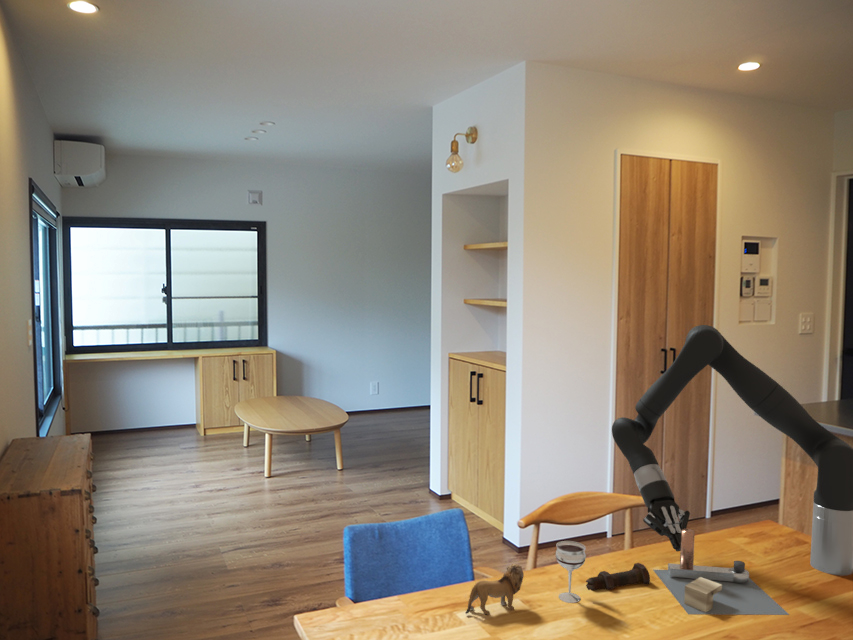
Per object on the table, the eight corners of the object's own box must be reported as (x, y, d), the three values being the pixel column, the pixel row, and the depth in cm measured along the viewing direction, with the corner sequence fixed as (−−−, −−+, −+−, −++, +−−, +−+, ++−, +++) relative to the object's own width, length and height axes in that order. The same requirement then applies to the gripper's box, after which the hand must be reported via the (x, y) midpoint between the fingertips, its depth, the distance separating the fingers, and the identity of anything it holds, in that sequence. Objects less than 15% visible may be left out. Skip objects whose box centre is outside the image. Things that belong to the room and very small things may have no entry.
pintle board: (652, 574, 168) (653, 552, 168) (740, 574, 169) (741, 552, 168) (688, 619, 146) (689, 594, 146) (789, 619, 147) (790, 594, 146)
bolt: (586, 599, 159) (641, 589, 164) (597, 597, 155) (653, 587, 159) (580, 573, 161) (634, 563, 166) (590, 571, 157) (645, 561, 162)
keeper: (699, 594, 155) (700, 576, 155) (721, 602, 152) (722, 584, 151) (684, 603, 151) (684, 585, 151) (705, 612, 147) (706, 594, 147)
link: (745, 576, 165) (747, 531, 164) (751, 584, 160) (753, 538, 159) (667, 570, 167) (668, 526, 167) (670, 577, 163) (672, 533, 162)
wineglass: (587, 594, 157) (588, 543, 157) (581, 607, 151) (582, 554, 150) (558, 588, 160) (559, 538, 159) (551, 600, 154) (552, 549, 153)
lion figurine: (514, 596, 156) (515, 558, 155) (528, 606, 151) (529, 567, 151) (459, 610, 149) (460, 571, 148) (472, 622, 144) (473, 580, 144)
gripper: (637, 480, 173) (664, 546, 162) (681, 477, 177) (711, 541, 166) (625, 494, 178) (650, 559, 167) (668, 490, 182) (696, 553, 171)
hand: (681, 549), depth 167 cm, fingers closed
